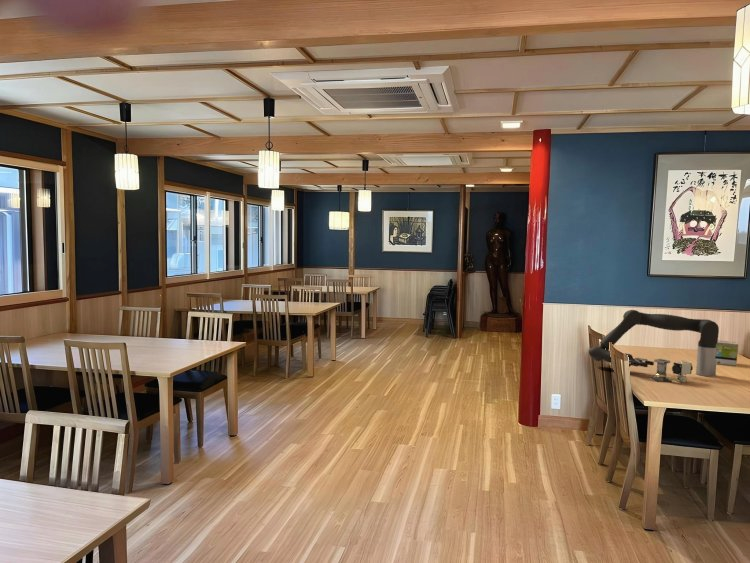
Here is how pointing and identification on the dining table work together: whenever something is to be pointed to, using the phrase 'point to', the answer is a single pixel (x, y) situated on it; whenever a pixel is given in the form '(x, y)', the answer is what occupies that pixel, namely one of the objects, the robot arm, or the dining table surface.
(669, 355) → the dining table surface
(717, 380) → the dining table surface
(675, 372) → the pneumatic valve
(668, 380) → the pad
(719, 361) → the tea box
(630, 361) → the robot arm
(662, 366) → the grey column pedestal
